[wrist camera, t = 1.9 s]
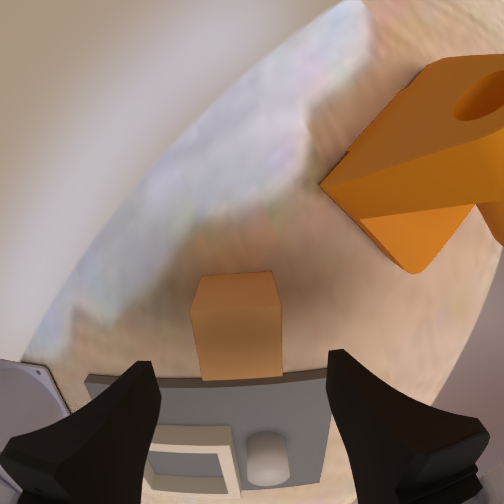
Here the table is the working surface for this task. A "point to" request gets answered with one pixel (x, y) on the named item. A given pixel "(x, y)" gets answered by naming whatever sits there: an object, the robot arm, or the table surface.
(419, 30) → the table surface
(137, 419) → the robot arm
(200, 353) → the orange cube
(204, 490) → the board
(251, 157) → the table surface
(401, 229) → the bracket
